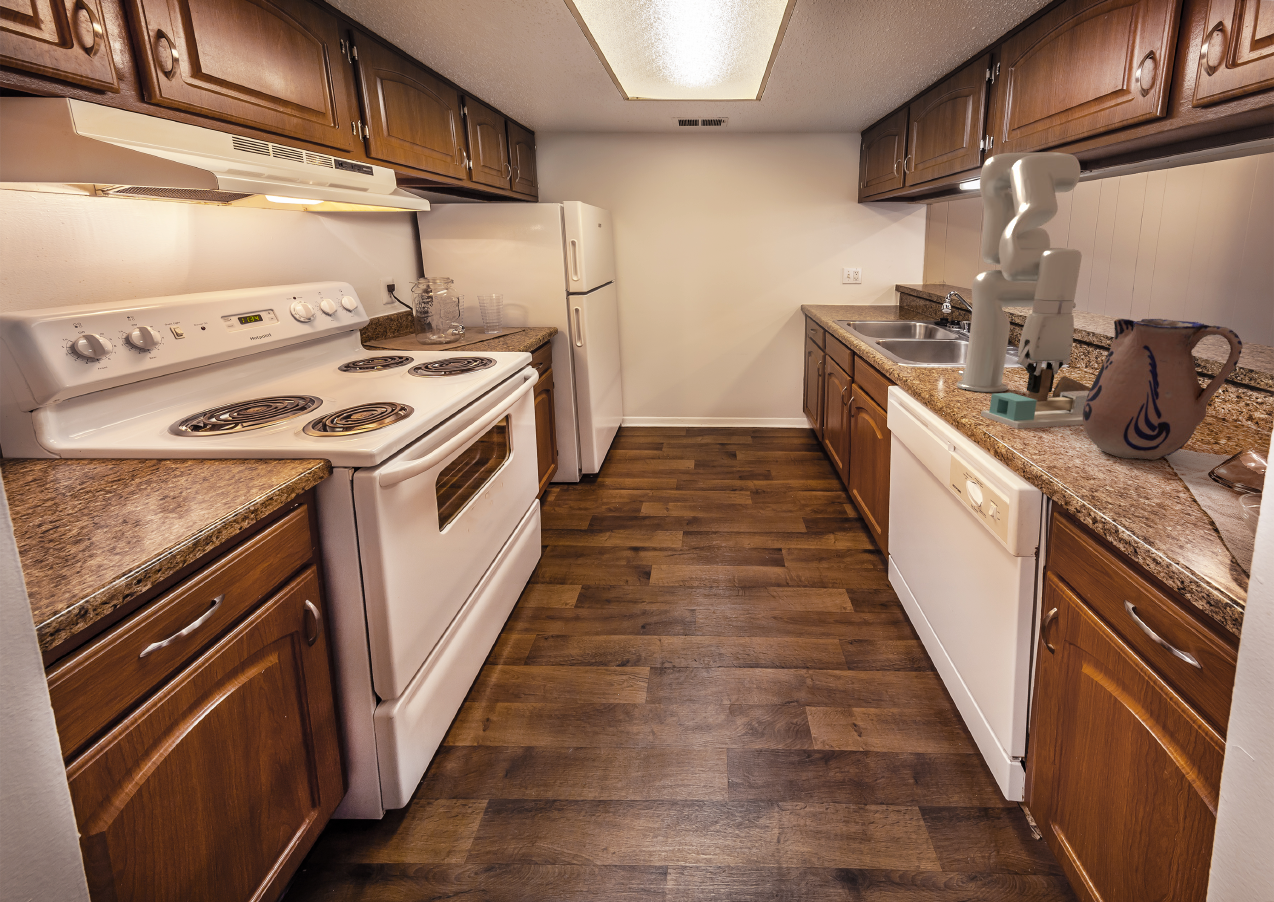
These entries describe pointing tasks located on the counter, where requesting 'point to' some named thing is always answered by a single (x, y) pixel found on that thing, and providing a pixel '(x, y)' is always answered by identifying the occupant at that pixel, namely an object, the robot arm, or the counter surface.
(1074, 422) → the base board
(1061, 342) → the robot arm
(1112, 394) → the ceramic pitcher
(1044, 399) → the tan wooden l-shaped piece
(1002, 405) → the socket block
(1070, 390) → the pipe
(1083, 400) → the sleeve
